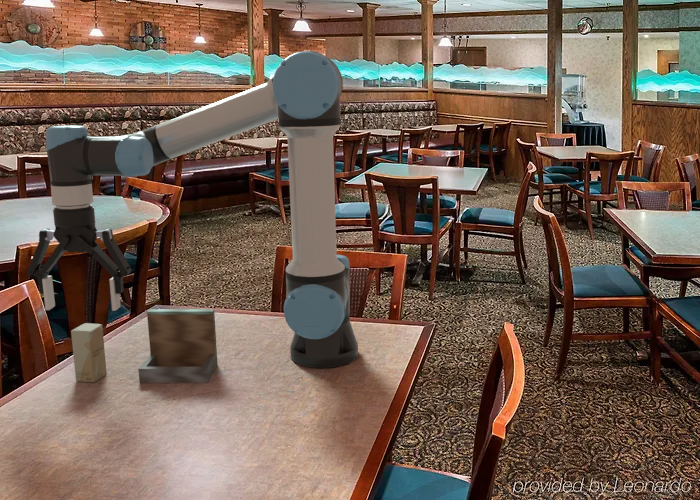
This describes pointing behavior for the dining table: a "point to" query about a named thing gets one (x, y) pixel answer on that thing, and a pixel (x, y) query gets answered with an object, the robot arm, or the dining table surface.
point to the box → (88, 352)
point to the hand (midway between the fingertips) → (83, 308)
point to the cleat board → (180, 346)
